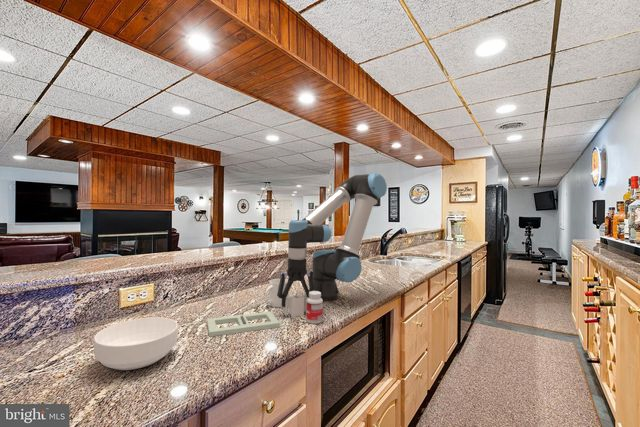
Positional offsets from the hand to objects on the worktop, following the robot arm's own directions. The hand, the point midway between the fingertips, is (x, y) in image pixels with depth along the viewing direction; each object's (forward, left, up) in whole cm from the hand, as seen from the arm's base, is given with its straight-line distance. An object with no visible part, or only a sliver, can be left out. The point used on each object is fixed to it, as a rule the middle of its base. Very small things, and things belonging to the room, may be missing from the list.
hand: (295, 313), depth 122 cm
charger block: (0, 0, 0) cm, 0 cm away
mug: (+5, -13, 0) cm, 14 cm away
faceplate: (+22, +4, 0) cm, 22 cm away
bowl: (+53, +20, 0) cm, 57 cm away
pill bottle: (-4, +10, 0) cm, 11 cm away
